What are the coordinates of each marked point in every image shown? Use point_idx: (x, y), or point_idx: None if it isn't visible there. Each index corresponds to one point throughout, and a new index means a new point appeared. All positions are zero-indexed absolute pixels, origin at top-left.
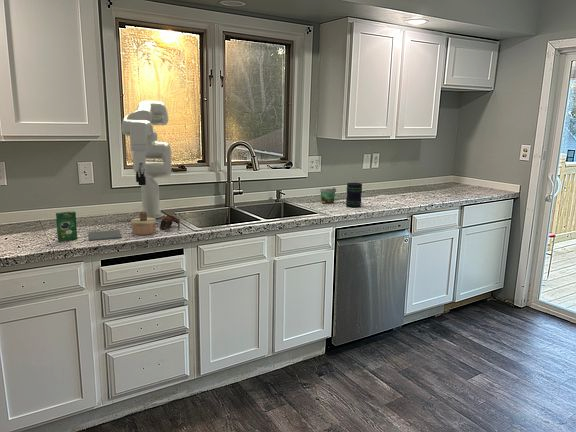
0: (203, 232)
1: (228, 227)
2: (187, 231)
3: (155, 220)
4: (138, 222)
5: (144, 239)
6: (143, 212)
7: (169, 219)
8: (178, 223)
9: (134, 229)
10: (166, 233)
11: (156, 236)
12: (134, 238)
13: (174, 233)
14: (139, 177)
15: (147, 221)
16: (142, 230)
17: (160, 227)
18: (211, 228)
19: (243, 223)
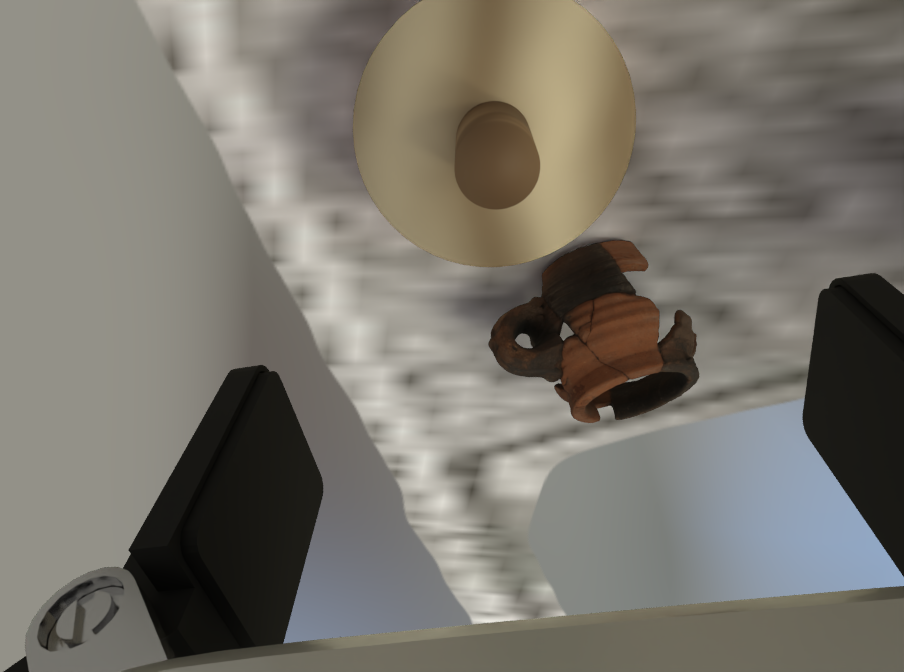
0: (416, 499)
1: (513, 608)
2: (458, 421)
3: (456, 260)
4: (384, 89)
5: (240, 125)
6: (477, 173)
7: (515, 368)
8: (617, 389)
9: None
10: (422, 291)
11: (334, 220)
12: (273, 27)
13: (414, 344)
14: (154, 559)
15: (422, 185)
16: None
17: (582, 251)
18: (510, 540)
19: None
